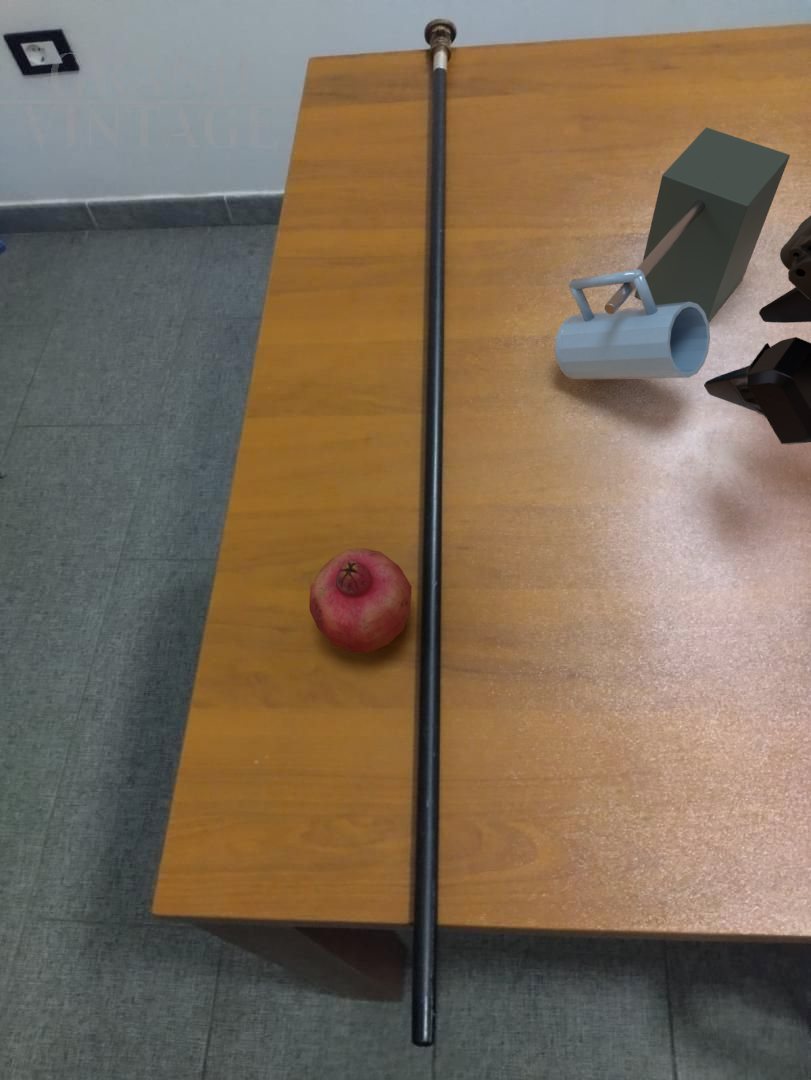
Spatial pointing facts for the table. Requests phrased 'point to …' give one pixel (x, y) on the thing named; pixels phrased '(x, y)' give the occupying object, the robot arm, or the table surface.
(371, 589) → the fruit
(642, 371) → the blue mug
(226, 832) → the table surface
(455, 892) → the table surface
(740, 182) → the box
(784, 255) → the robot arm
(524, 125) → the table surface
